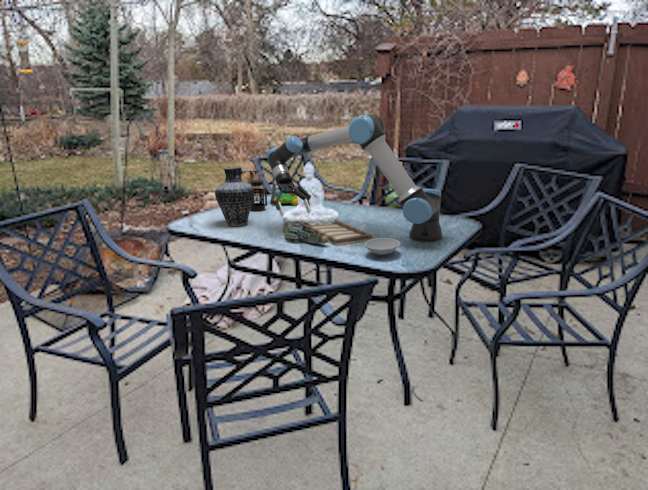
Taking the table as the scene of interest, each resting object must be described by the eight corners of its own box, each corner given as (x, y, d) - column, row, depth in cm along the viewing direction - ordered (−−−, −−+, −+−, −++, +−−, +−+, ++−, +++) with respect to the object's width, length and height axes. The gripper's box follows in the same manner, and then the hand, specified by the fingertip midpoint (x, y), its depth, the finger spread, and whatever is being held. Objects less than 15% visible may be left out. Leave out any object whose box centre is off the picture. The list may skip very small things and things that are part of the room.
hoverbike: (291, 236, 238) (291, 219, 235) (334, 244, 223) (334, 227, 221) (278, 240, 230) (278, 223, 228) (321, 250, 216) (321, 231, 214)
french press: (245, 210, 291) (243, 171, 284) (253, 207, 299) (251, 169, 292) (262, 212, 286) (261, 172, 279) (270, 209, 294) (269, 170, 288)
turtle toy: (300, 199, 323) (300, 181, 320) (299, 206, 301) (298, 187, 297) (274, 199, 323) (273, 181, 320) (270, 207, 301) (270, 187, 297)
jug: (228, 231, 246) (225, 170, 238) (210, 224, 261) (206, 166, 252) (264, 224, 259) (261, 166, 250) (244, 218, 273) (241, 163, 265)
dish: (390, 263, 198) (390, 251, 196) (357, 258, 204) (357, 246, 203) (405, 251, 213) (406, 240, 211) (374, 247, 219) (374, 236, 218)
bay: (371, 240, 230) (371, 234, 229) (336, 245, 221) (336, 240, 220) (332, 223, 261) (332, 218, 260) (299, 227, 252) (299, 222, 252)
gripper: (303, 179, 247) (317, 214, 238) (256, 183, 235) (269, 221, 227) (308, 169, 241) (322, 206, 232) (259, 173, 229) (273, 211, 221)
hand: (296, 213), depth 229 cm, fingers open, 13 cm apart
